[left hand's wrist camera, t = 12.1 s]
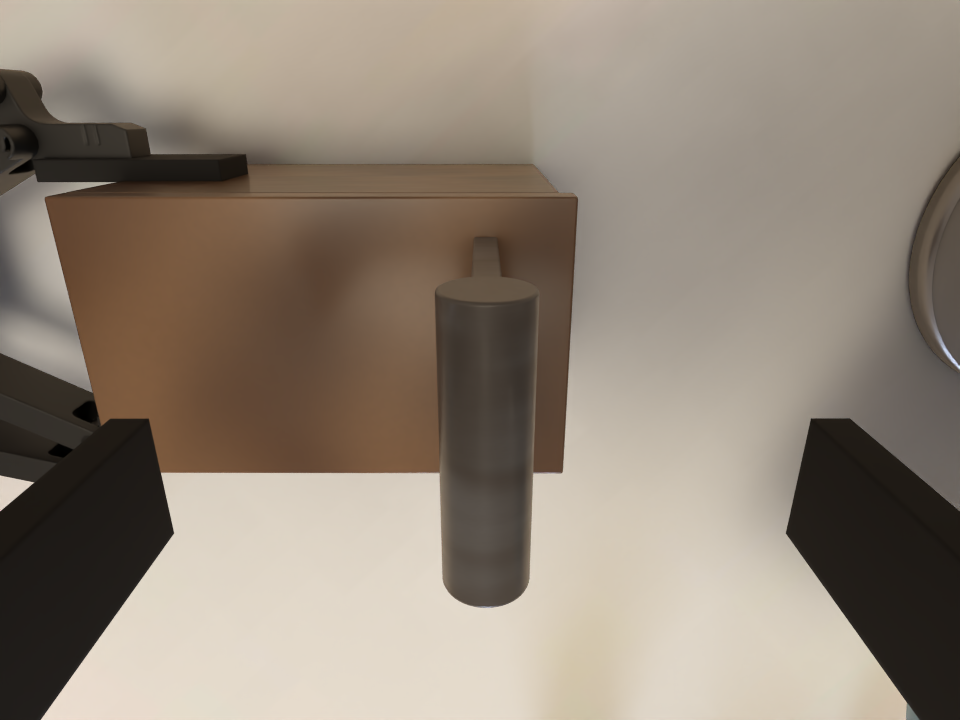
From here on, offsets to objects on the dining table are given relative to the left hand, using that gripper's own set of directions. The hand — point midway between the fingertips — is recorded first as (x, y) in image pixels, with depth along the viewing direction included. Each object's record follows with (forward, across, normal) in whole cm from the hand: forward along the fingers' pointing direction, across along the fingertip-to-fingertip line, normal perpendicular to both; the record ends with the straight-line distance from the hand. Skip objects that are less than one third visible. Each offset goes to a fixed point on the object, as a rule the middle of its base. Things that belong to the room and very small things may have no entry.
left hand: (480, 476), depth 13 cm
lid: (+9, -5, 0) cm, 10 cm away
